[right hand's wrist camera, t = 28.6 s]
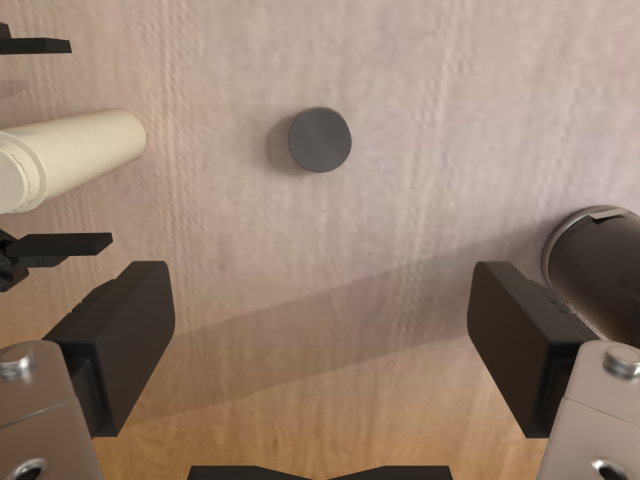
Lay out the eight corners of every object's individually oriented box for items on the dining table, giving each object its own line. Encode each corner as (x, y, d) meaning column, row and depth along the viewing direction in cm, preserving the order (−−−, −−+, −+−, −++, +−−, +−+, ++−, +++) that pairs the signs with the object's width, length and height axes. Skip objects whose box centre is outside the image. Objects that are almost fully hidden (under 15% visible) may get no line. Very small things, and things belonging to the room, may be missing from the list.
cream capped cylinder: (117, 171, 37) (-11, 236, 22) (81, 127, 35) (-79, 165, 21) (157, 144, 36) (50, 193, 22) (122, 97, 34) (-17, 116, 20)
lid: (343, 100, 34) (344, 101, 33) (356, 161, 36) (357, 164, 35) (282, 114, 35) (281, 116, 33) (298, 174, 37) (297, 178, 35)
